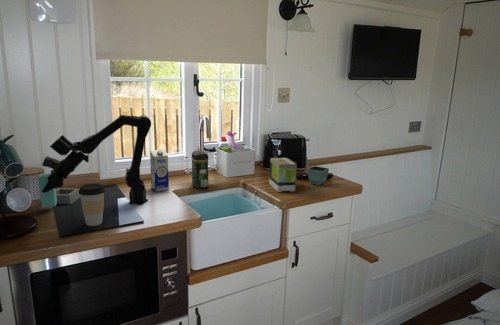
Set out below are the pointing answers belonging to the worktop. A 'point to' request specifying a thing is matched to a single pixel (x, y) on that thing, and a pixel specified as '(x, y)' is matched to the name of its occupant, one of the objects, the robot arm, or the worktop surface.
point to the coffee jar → (199, 169)
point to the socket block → (67, 195)
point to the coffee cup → (92, 203)
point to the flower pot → (317, 175)
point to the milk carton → (159, 170)
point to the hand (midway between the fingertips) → (44, 190)
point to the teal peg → (48, 197)
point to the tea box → (282, 174)
